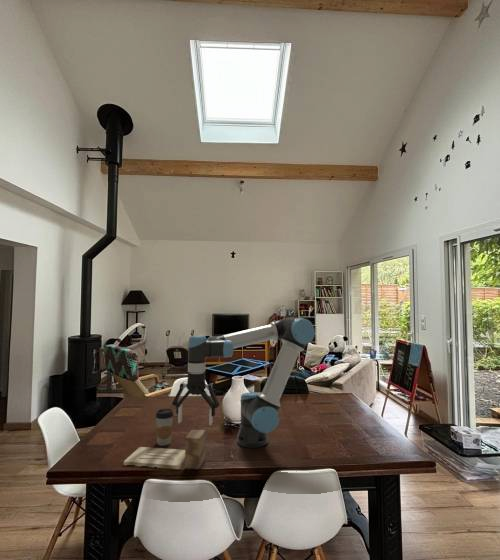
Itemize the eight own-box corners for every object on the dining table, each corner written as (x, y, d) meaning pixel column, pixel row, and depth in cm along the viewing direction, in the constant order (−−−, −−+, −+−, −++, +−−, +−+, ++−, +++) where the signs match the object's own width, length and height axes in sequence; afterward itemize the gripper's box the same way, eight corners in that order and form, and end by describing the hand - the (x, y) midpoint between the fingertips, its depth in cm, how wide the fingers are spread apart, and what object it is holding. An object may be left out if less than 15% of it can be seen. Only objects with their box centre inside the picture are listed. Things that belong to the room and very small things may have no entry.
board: (190, 453, 145) (190, 450, 146) (178, 469, 132) (179, 465, 132) (139, 450, 149) (139, 446, 149) (123, 465, 135) (123, 461, 135)
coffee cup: (155, 447, 151) (155, 414, 152) (155, 440, 159) (155, 409, 160) (173, 445, 154) (174, 413, 155) (172, 438, 162) (173, 407, 163)
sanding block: (205, 458, 141) (205, 430, 142) (199, 469, 132) (199, 438, 133) (191, 457, 142) (192, 429, 143) (184, 468, 133) (185, 437, 134)
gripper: (226, 371, 142) (225, 421, 140) (172, 369, 145) (170, 418, 143) (223, 375, 134) (222, 428, 133) (165, 372, 138) (163, 424, 136)
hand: (195, 423), depth 138 cm, fingers open, 13 cm apart
